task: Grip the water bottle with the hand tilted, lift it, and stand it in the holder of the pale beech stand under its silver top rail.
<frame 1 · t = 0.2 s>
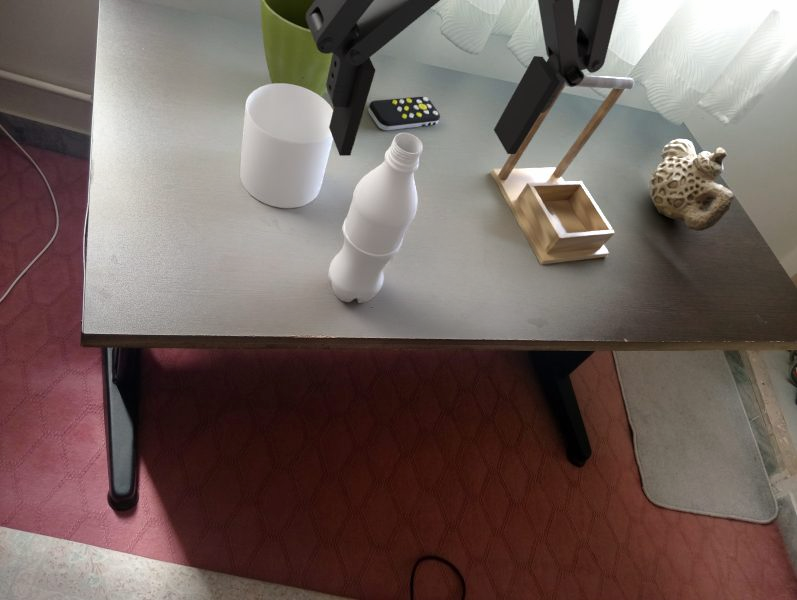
hand: (427, 142, 39), 34 cm above the table, tool pointing down, fingers open, 13 cm apart
teapot: (663, 210, 104), on the table
water bottle: (351, 287, 72), on the table
rack: (555, 227, 91), on the table
remote control: (402, 118, 96), on the table
flower pot: (297, 95, 91), on the table
cup: (281, 179, 79), on the table
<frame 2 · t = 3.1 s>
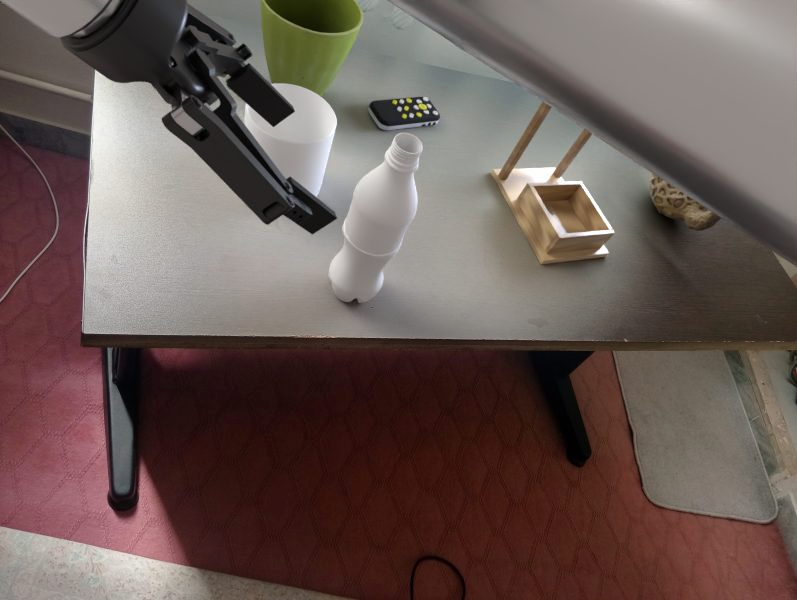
hand: (302, 167, 50), 22 cm above the table, tool tilted 45°, fingers open, 13 cm apart
nothing on the table moved.
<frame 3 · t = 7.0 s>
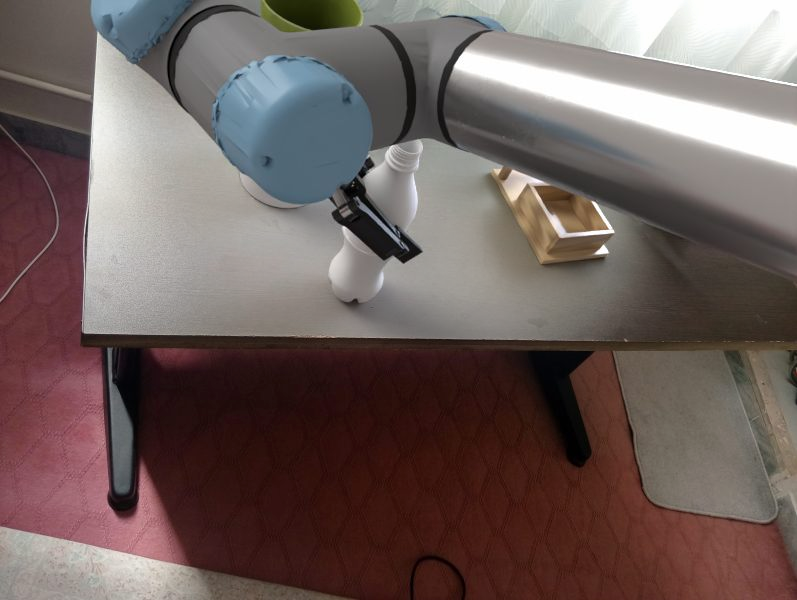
hand: (399, 229, 64), 12 cm above the table, tool tilted 45°, fingers closed on water bottle, 7 cm apart
water bottle: (351, 287, 72), on the table, touching gripper
everything else where it was.
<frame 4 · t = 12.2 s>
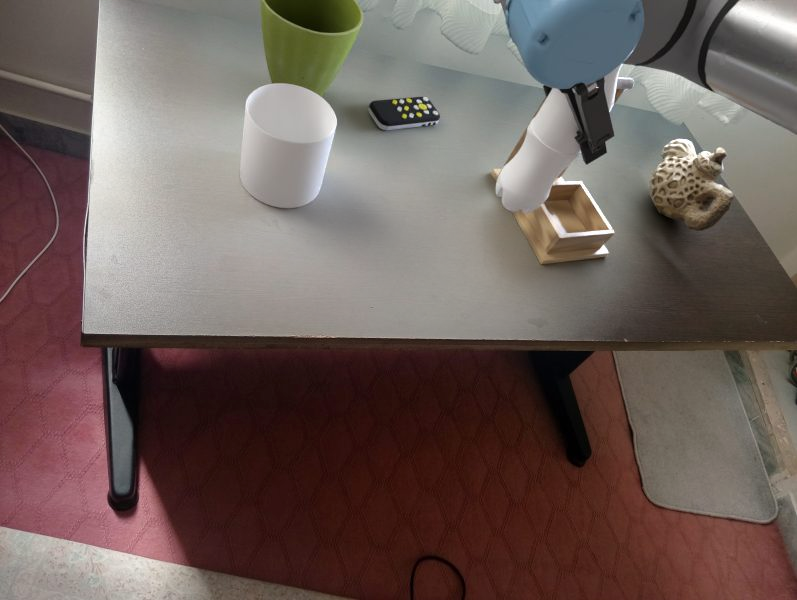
hand: (578, 134, 67), 22 cm above the table, tool tilted 45°, fingers closed on water bottle, 7 cm apart
water bottle: (513, 200, 75), point 11 cm above the table, touching gripper
everything else where it was.
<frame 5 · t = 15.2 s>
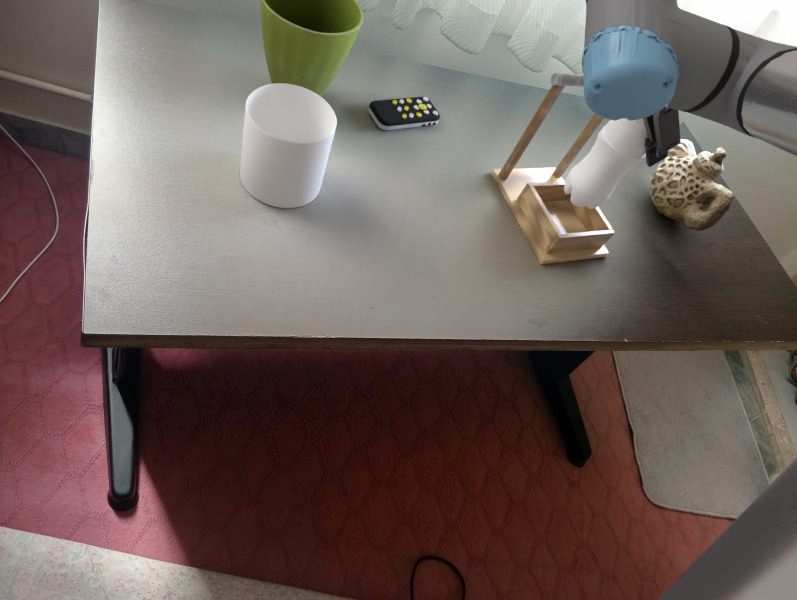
hand: (641, 140, 78), 19 cm above the table, tool tilted 45°, fingers closed on water bottle, 7 cm apart
water bottle: (578, 198, 86), point 7 cm above the table, touching gripper
everything else where it was.
when the fingers open (13 cm above the table, at t = 17.4 s): water bottle stays where it is, resting on rack.
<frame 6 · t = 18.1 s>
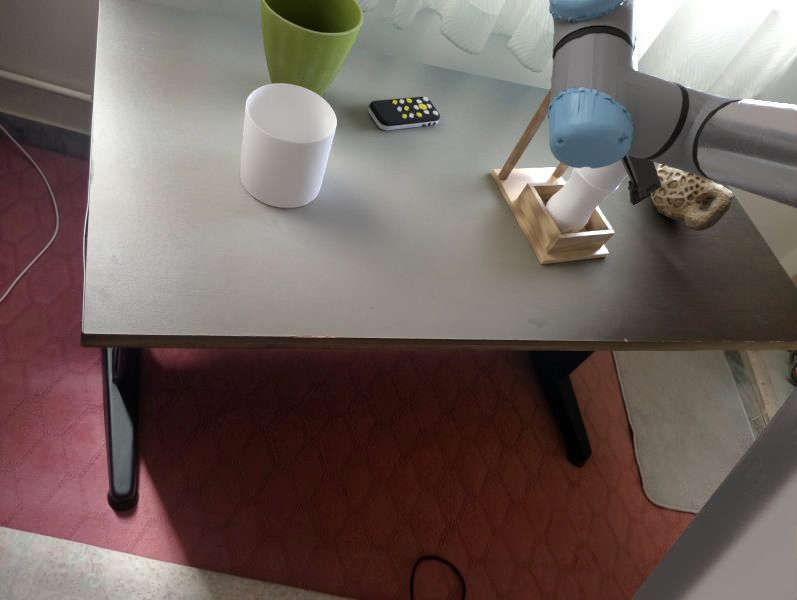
hand: (616, 165, 81), 14 cm above the table, tool tilted 45°, fingers open, 13 cm apart
water bottle: (557, 224, 91), point 1 cm above the table, touching rack
everything else where it was.
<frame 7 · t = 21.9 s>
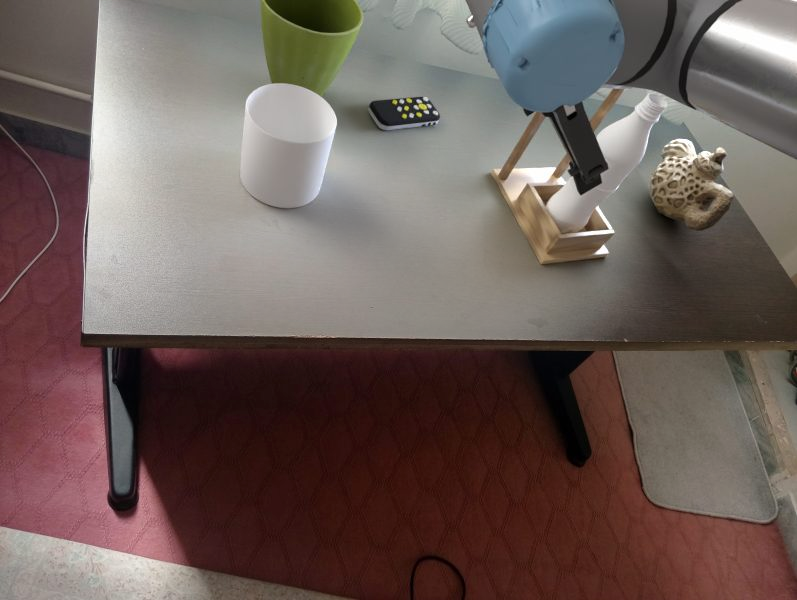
hand: (561, 146, 65), 22 cm above the table, tool tilted 45°, fingers open, 13 cm apart
nothing on the table moved.
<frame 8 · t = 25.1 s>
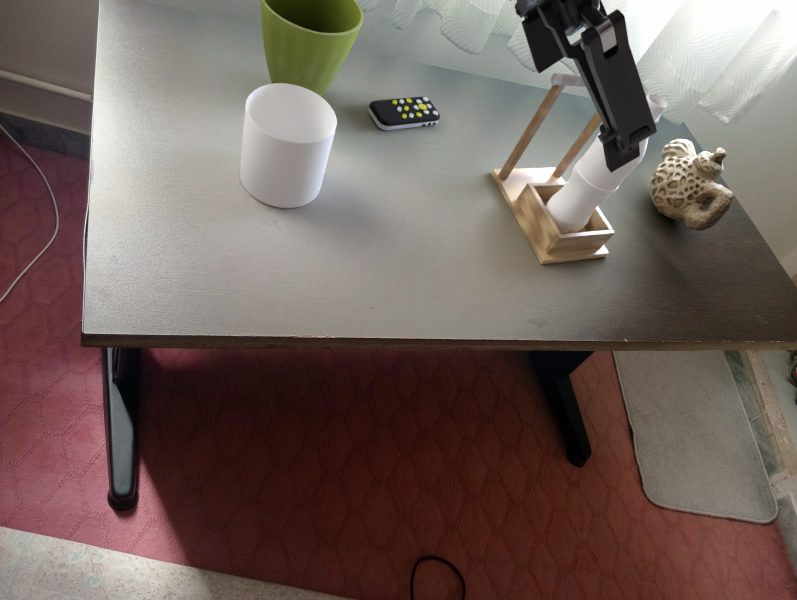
hand: (584, 109, 50), 33 cm above the table, tool tilted 45°, fingers open, 13 cm apart
nothing on the table moved.
at the end: water bottle 0.1 cm off-centre on the rack, point 0.8 cm above the rack's base; water bottle tilted 0°; the gripper is holding nothing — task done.
